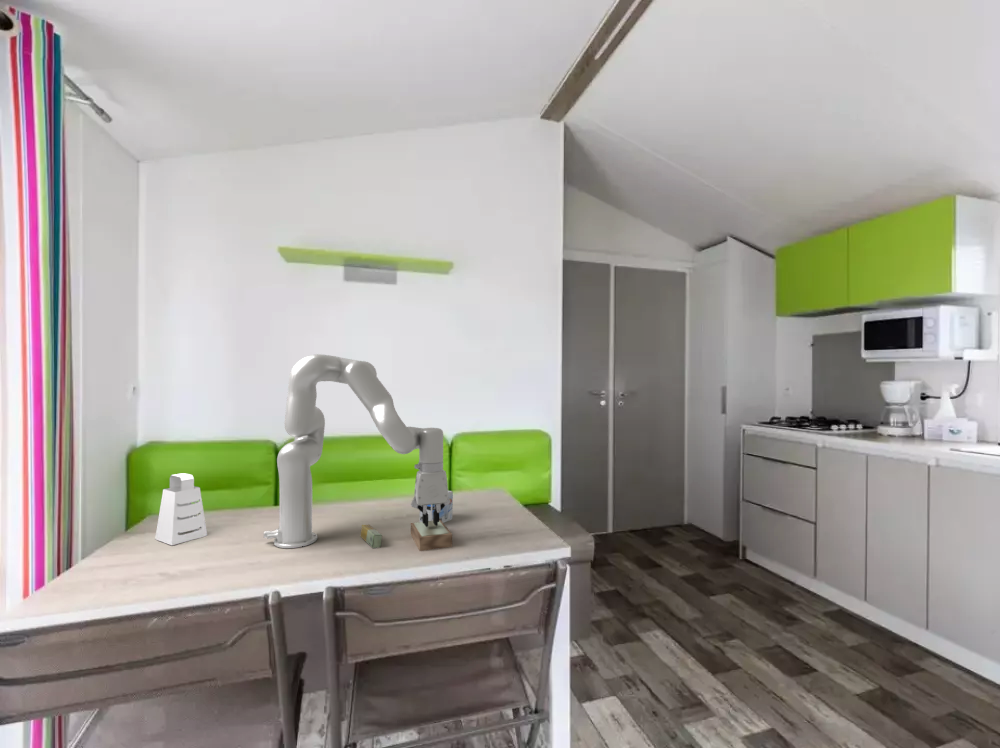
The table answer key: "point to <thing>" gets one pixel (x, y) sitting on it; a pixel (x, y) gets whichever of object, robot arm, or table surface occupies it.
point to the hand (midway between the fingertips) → (430, 524)
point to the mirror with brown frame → (431, 535)
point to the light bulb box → (445, 512)
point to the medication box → (371, 536)
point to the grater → (180, 511)
